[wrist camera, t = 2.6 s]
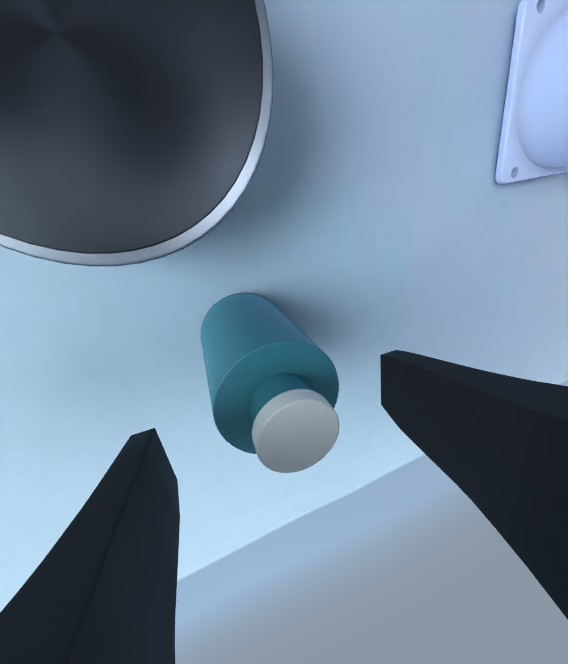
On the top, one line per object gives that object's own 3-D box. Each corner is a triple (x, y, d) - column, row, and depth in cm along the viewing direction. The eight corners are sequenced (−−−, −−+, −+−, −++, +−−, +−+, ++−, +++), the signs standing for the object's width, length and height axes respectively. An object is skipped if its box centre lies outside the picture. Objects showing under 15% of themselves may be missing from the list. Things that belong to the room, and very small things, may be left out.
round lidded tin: (209, -83, 10) (232, -333, 5) (262, 228, 14) (300, 233, 9) (-179, -109, 7) (-701, -583, 3) (23, 272, 12) (-76, 307, 7)
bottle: (276, 284, 15) (365, 348, 8) (288, 357, 17) (370, 465, 10) (190, 304, 14) (199, 399, 7) (212, 379, 16) (239, 520, 8)
